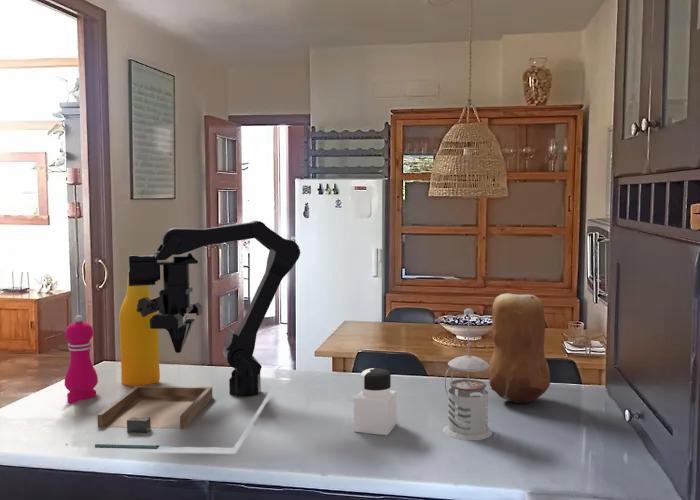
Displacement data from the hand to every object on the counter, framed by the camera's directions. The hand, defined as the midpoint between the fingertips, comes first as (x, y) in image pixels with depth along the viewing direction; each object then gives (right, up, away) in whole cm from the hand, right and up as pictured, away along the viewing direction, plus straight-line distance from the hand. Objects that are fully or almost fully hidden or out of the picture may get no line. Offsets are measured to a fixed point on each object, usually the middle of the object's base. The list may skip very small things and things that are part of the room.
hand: (178, 352), depth 150 cm
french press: (+62, -13, -16) cm, 65 cm away
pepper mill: (-24, -12, +5) cm, 27 cm away
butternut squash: (+77, -12, +2) cm, 78 cm away
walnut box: (-2, -13, -7) cm, 15 cm away
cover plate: (-3, -14, -21) cm, 26 cm away
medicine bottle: (+44, -13, -15) cm, 48 cm away
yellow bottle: (-14, -11, +17) cm, 24 cm away
